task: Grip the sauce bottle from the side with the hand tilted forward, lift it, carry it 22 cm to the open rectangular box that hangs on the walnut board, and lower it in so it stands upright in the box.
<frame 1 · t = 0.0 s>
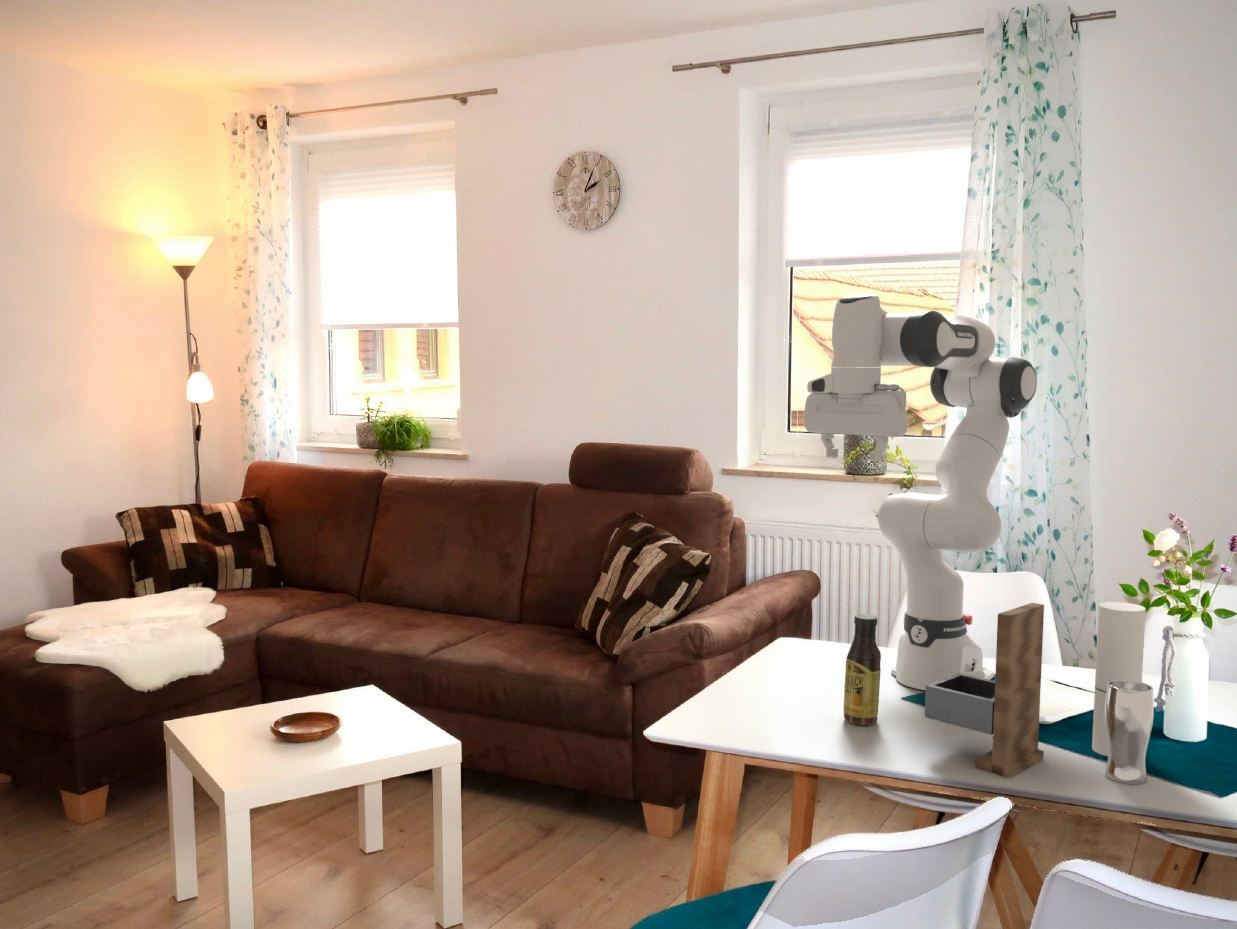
hand: (853, 459, 196), 48 cm above the table, tool pointing down, fingers open, 8 cm apart
cylindrical container: (1114, 752, 183), on the table
open rectangular box: (975, 703, 180), point 9 cm above the table
wall board: (1012, 686, 175), on the table
beer glass: (1125, 778, 171), on the table
sauce bottle: (861, 722, 197), on the table
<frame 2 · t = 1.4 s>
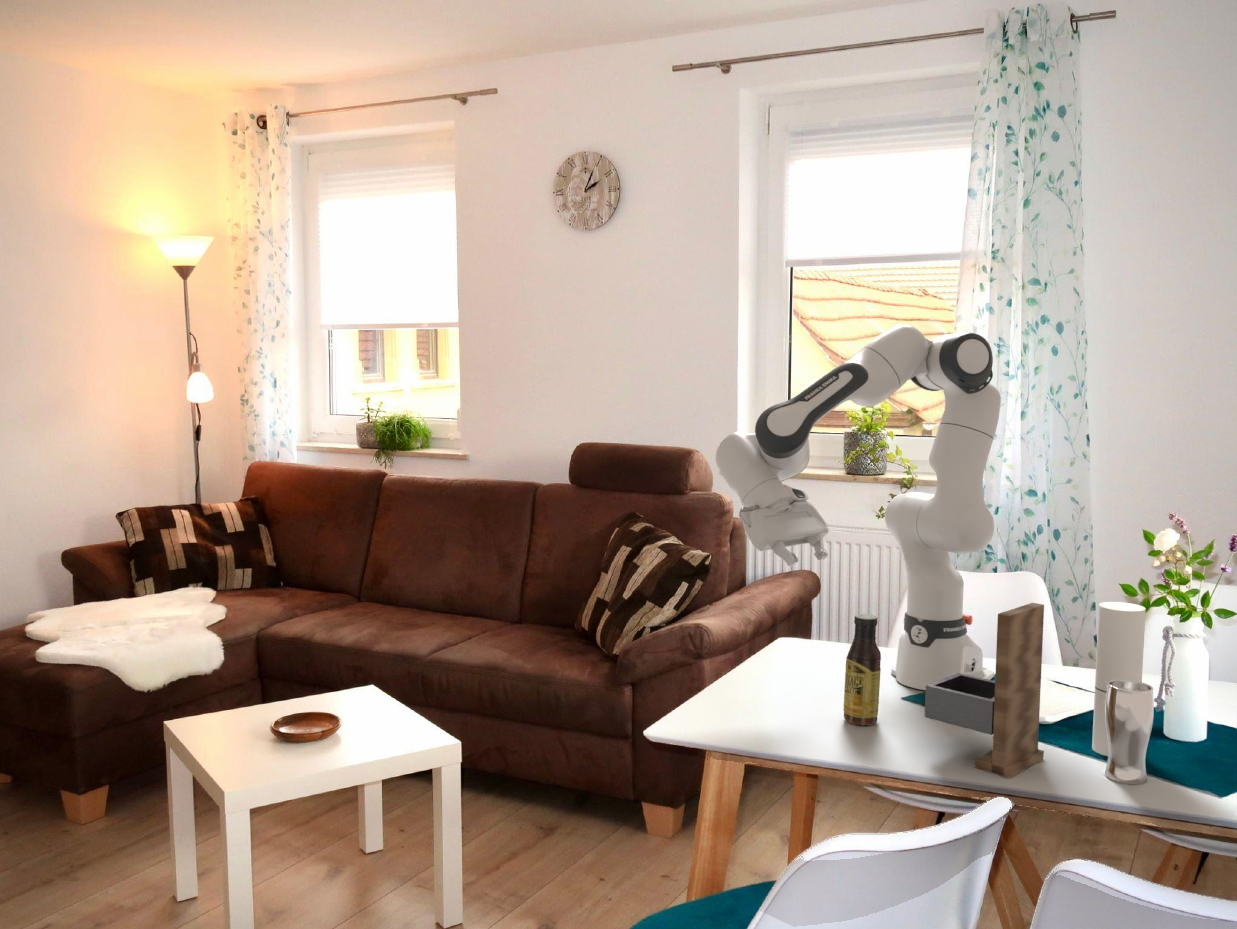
hand: (809, 560, 203), 28 cm above the table, tool tilted 45°, fingers open, 8 cm apart
nothing on the table moved.
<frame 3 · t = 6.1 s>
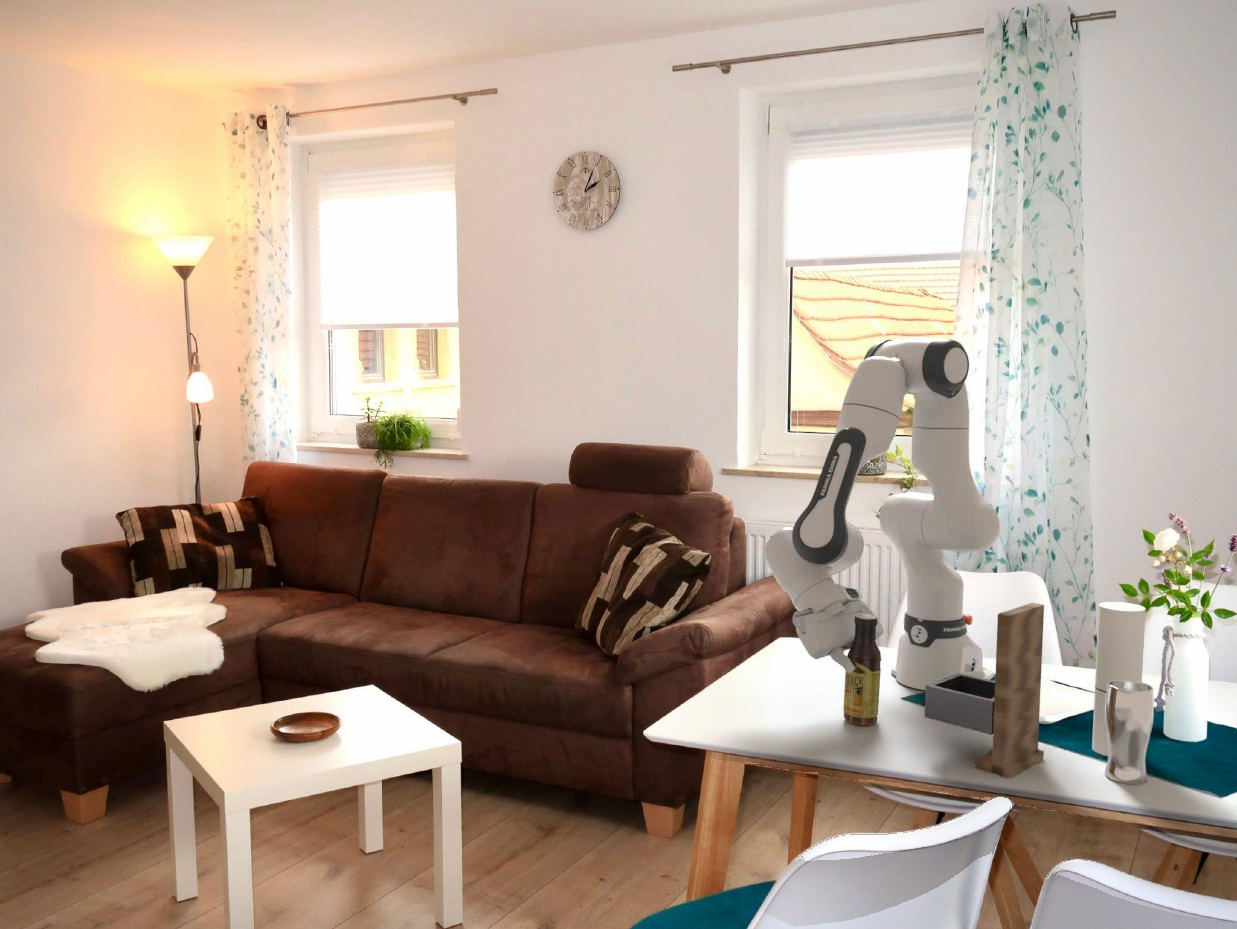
hand: (865, 667, 196), 10 cm above the table, tool tilted 45°, fingers closed on sauce bottle, 6 cm apart
sauce bottle: (861, 722, 197), on the table, touching gripper
everything else where it was.
when the fingers open (19 cm above the table, at t = 13.0 s): sauce bottle drops 1 cm, resting on open rectangular box.
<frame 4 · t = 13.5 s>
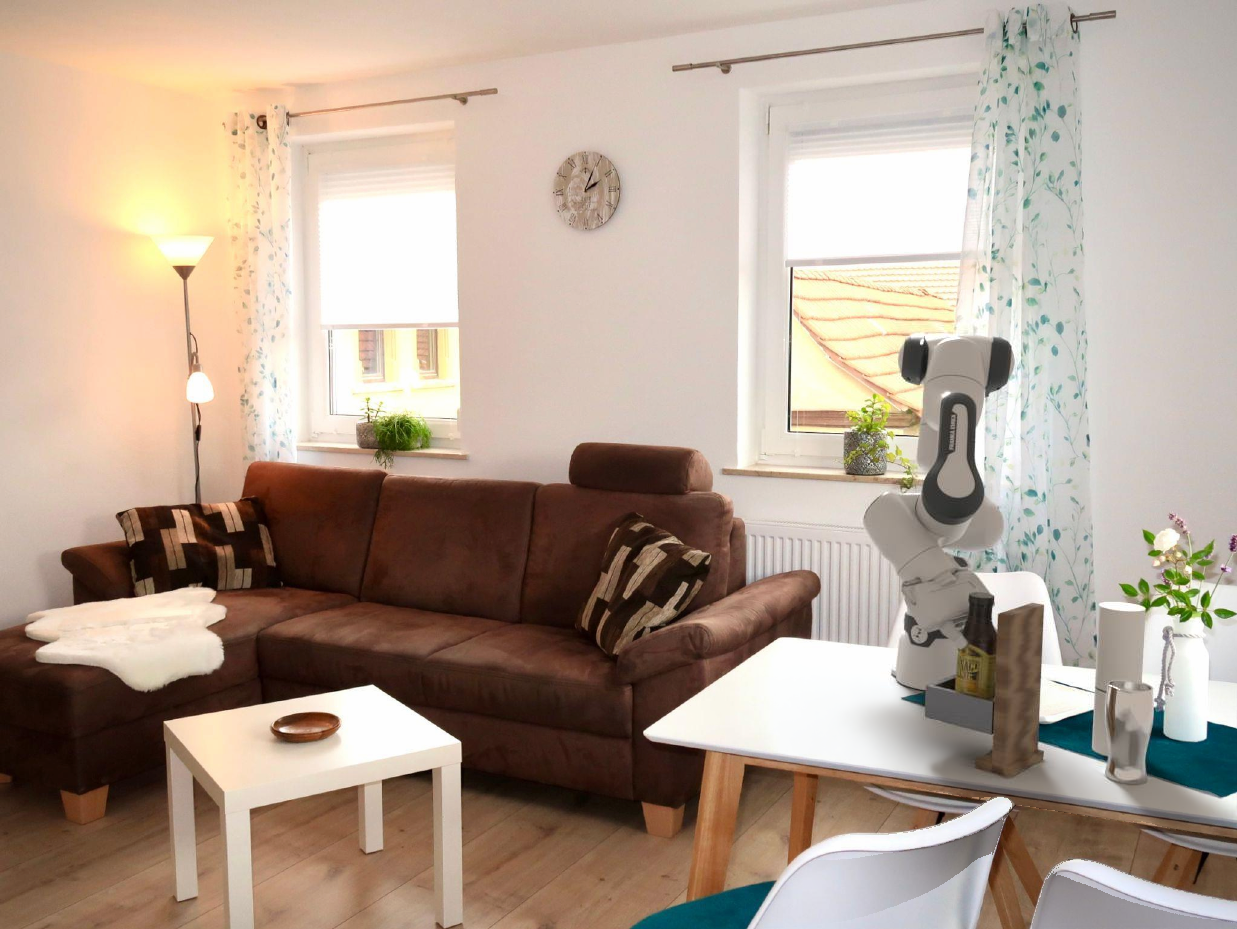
hand: (980, 641, 179), 19 cm above the table, tool tilted 45°, fingers open, 8 cm apart
sauce bottle: (974, 710, 181), point 7 cm above the table, touching open rectangular box
everything else where it was.
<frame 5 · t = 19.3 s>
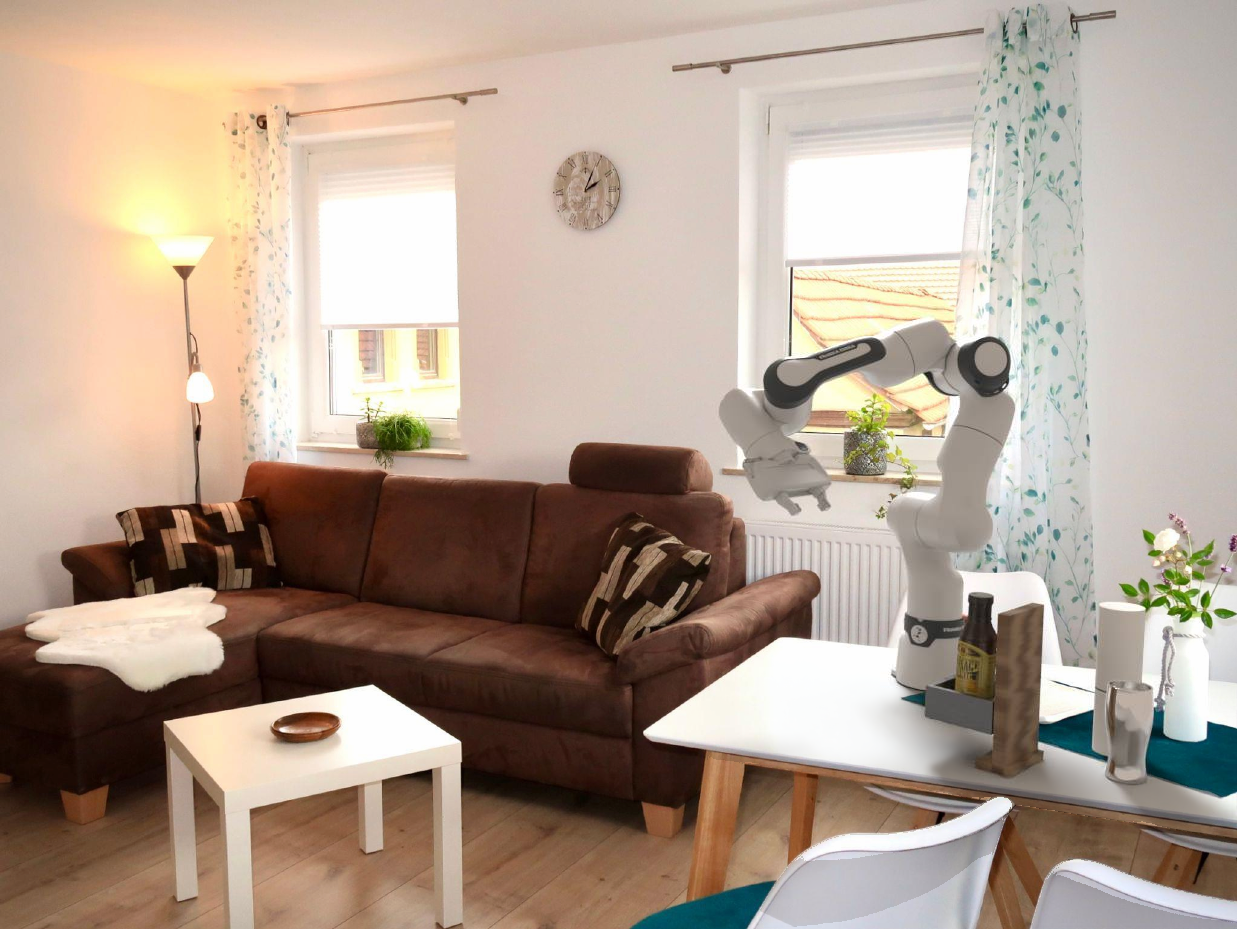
hand: (812, 511, 205), 37 cm above the table, tool tilted 45°, fingers open, 8 cm apart
nothing on the table moved.
at the end: sauce bottle inside the target area on the open rectangular box (0.1 cm from its centre), point 7.3 cm above the open rectangular box's base; sauce bottle tilted 0°; the gripper is holding nothing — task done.
